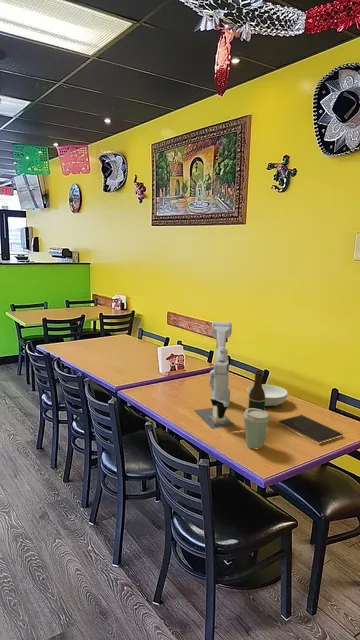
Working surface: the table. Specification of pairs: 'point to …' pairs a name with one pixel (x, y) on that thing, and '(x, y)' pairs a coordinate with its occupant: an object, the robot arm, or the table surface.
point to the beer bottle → (257, 393)
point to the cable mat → (209, 411)
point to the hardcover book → (310, 428)
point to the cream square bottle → (216, 414)
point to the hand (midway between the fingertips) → (218, 415)
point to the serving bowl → (272, 394)
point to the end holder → (216, 423)
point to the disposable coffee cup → (255, 427)
